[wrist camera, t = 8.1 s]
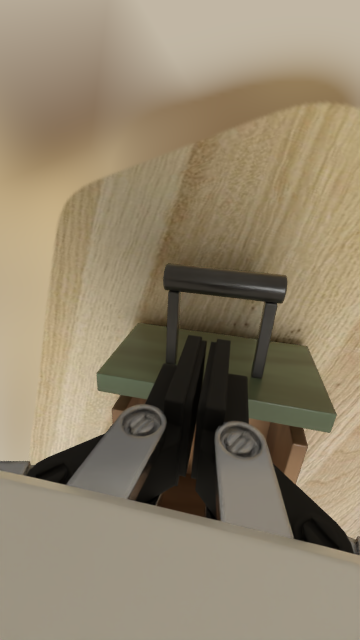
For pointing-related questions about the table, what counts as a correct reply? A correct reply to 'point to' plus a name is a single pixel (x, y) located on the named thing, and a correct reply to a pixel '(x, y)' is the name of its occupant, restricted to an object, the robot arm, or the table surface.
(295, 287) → the table surface
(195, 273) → the drawer
